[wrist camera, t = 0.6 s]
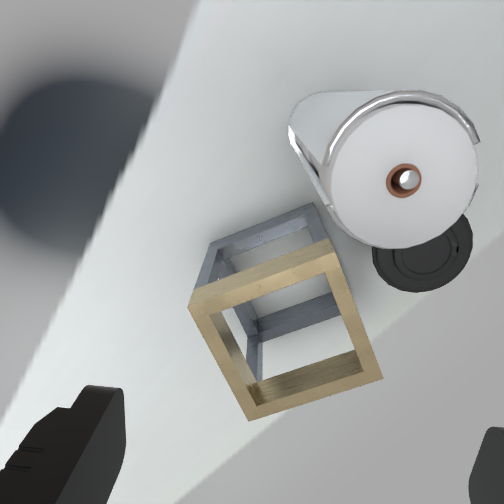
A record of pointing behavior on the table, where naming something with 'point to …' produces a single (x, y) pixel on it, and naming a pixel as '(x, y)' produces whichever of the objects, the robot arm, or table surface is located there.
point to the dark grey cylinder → (426, 260)
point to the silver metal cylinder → (387, 162)
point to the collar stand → (278, 316)
